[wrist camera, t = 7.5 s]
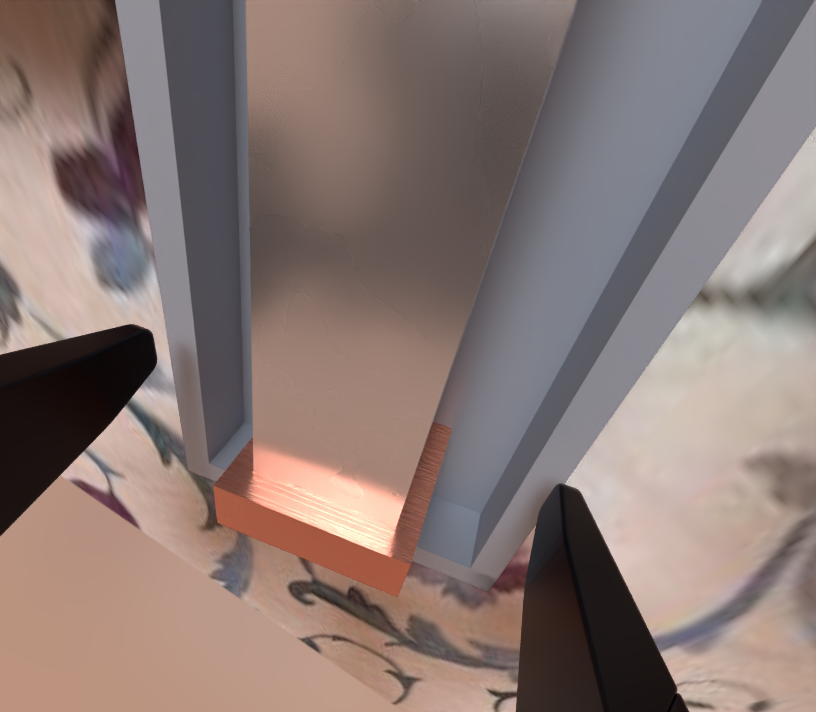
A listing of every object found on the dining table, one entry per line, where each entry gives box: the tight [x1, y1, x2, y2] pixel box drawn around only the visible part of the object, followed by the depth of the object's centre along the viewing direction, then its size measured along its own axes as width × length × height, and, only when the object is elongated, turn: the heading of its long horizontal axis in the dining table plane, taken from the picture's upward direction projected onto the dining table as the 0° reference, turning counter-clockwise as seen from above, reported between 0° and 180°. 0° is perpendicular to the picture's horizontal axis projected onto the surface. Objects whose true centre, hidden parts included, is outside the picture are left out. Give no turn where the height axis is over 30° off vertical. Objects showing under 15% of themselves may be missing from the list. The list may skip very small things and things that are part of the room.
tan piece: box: [213, 0, 579, 597], centre depth 8 cm, size 15×5×4 cm, turn 168°
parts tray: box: [115, 0, 816, 592], centre depth 9 cm, size 10×20×2 cm, turn 167°
